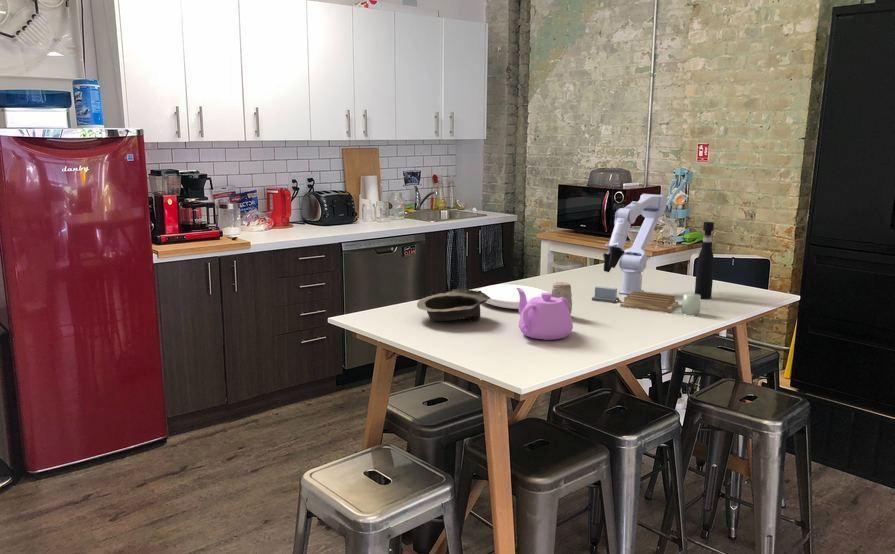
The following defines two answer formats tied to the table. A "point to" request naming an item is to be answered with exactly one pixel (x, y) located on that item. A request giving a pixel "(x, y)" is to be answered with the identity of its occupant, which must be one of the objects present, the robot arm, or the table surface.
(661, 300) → the dish rack
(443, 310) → the stone bowl
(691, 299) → the pale green cylinder
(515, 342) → the table surface
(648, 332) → the table surface
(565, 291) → the carving
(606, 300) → the drying stand
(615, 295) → the light blue slab
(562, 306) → the teapot
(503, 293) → the plate
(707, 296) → the black thermos bottle
